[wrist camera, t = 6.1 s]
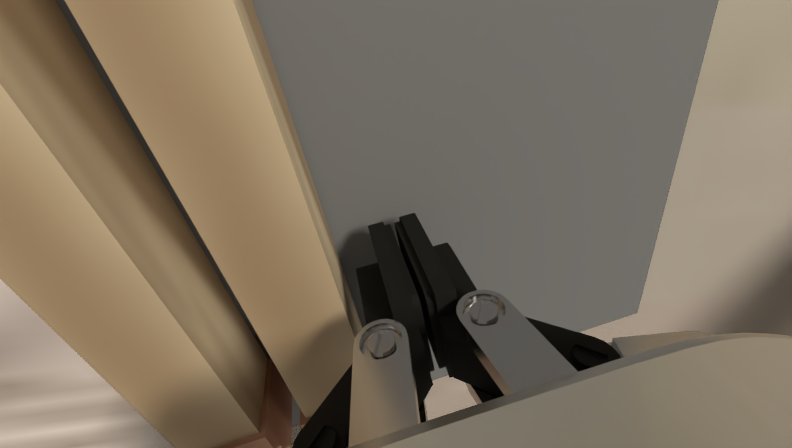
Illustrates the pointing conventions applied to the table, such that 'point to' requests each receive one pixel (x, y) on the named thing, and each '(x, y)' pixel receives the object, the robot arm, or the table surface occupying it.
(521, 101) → the mat
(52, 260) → the tongs fixed
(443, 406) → the table surface
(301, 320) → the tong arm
